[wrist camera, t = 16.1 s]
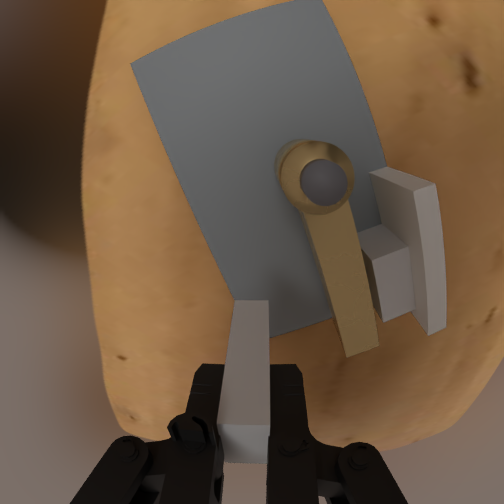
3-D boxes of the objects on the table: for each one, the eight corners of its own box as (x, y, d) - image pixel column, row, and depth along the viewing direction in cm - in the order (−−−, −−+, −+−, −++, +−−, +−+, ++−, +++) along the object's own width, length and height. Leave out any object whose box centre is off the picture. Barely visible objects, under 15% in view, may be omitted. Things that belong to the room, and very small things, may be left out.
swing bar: (265, 149, 18) (270, 155, 13) (318, 131, 18) (341, 132, 13) (324, 319, 23) (339, 365, 18) (366, 304, 23) (389, 347, 18)
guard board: (316, 0, 15) (346, -57, 7) (405, 282, 24) (451, 340, 16) (135, 66, 17) (75, 39, 10) (255, 335, 26) (255, 409, 18)
